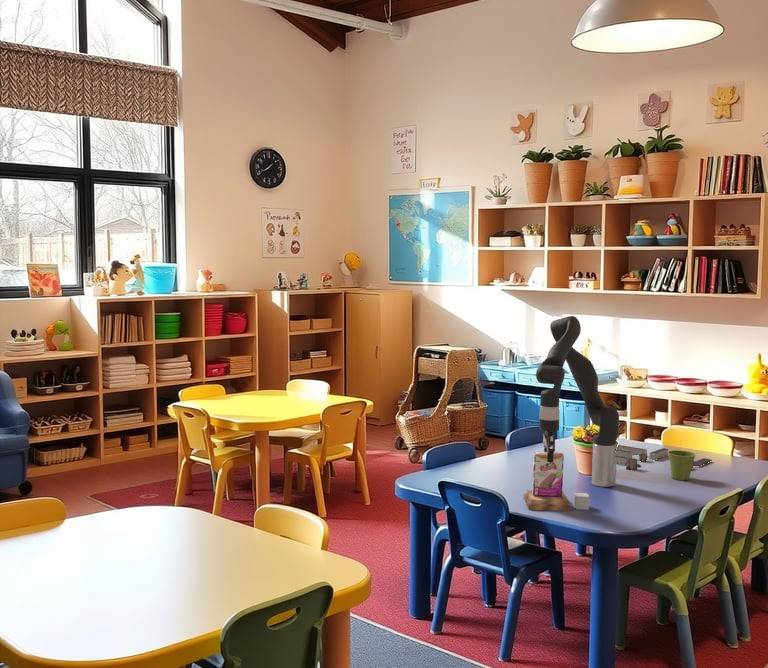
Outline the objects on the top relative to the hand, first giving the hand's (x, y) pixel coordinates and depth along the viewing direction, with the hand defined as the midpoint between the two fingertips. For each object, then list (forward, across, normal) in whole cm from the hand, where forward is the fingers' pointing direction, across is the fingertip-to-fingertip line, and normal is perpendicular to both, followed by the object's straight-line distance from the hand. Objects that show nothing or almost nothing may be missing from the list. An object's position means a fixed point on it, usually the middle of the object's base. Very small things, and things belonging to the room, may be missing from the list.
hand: (548, 459), depth 338 cm
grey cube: (+18, -3, -12) cm, 22 cm away
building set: (+18, +78, -57) cm, 98 cm away
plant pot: (+18, +46, -64) cm, 81 cm away
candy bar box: (+14, 0, 0) cm, 14 cm away
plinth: (+17, 0, 0) cm, 17 cm away
